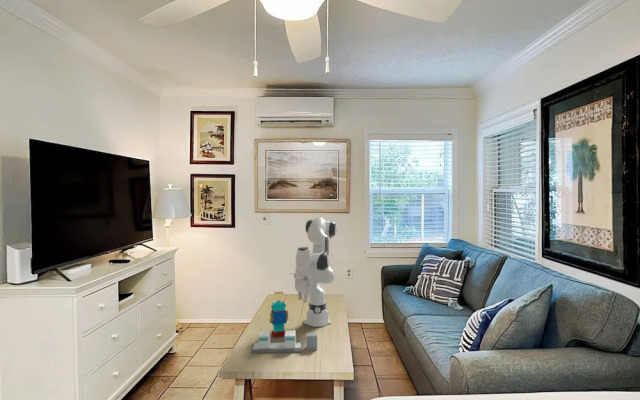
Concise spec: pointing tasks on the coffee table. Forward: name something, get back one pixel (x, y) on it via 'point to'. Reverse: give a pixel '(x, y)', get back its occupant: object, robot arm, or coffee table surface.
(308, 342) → the block
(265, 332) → the rail rack
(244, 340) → the coffee table surface
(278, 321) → the toy robot
